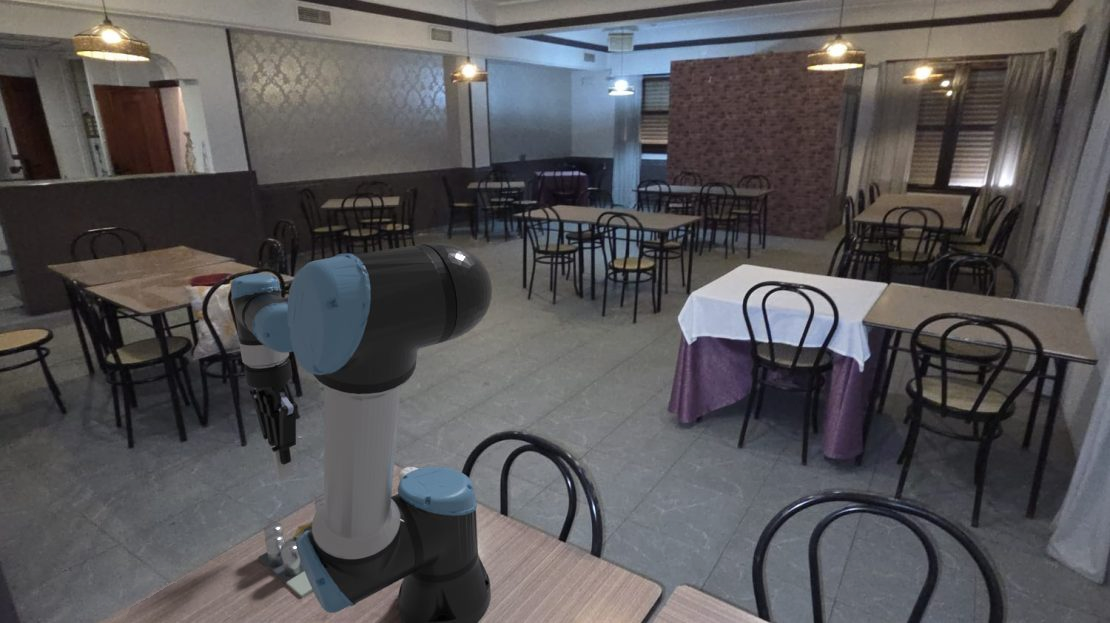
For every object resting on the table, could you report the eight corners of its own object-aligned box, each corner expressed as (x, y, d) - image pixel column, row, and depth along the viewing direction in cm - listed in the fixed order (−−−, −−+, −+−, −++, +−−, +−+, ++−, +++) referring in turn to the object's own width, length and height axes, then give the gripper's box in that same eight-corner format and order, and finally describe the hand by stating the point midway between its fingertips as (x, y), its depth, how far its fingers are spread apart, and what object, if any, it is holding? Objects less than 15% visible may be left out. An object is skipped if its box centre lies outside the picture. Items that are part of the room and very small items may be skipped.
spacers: (363, 534, 113) (360, 512, 111) (287, 580, 101) (283, 556, 100) (332, 514, 119) (329, 493, 118) (257, 555, 108) (253, 532, 106)
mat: (381, 546, 110) (381, 544, 110) (302, 597, 98) (301, 594, 98) (336, 516, 119) (336, 513, 119) (258, 559, 107) (258, 557, 107)
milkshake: (422, 516, 119) (418, 473, 116) (397, 513, 120) (393, 470, 117) (431, 503, 123) (427, 461, 120) (407, 500, 124) (403, 459, 121)
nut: (333, 539, 112) (331, 526, 111) (313, 556, 107) (311, 542, 106) (310, 532, 114) (308, 518, 113) (290, 548, 109) (287, 534, 108)
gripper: (306, 363, 103) (321, 479, 110) (269, 346, 111) (286, 456, 118) (264, 376, 97) (283, 498, 104) (228, 358, 105) (248, 472, 112)
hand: (284, 475), depth 111 cm, fingers closed
